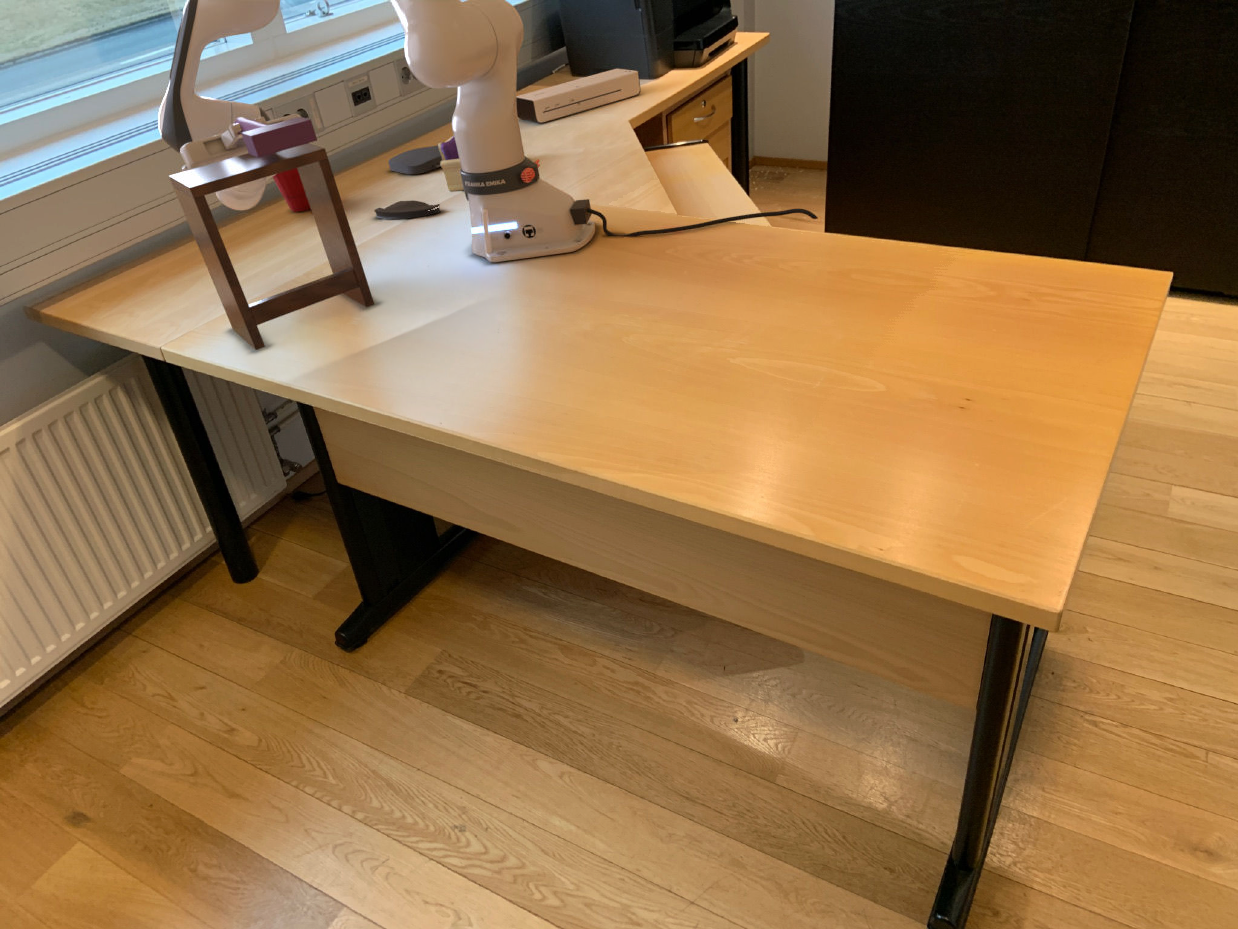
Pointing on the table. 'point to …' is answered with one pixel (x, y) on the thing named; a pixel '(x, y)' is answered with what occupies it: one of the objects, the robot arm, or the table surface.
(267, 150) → the toy hammer
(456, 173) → the toy sofa
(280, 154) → the bench
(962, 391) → the table surface
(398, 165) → the media streaming box
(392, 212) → the black flat piece
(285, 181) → the plastic cup
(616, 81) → the laminator
